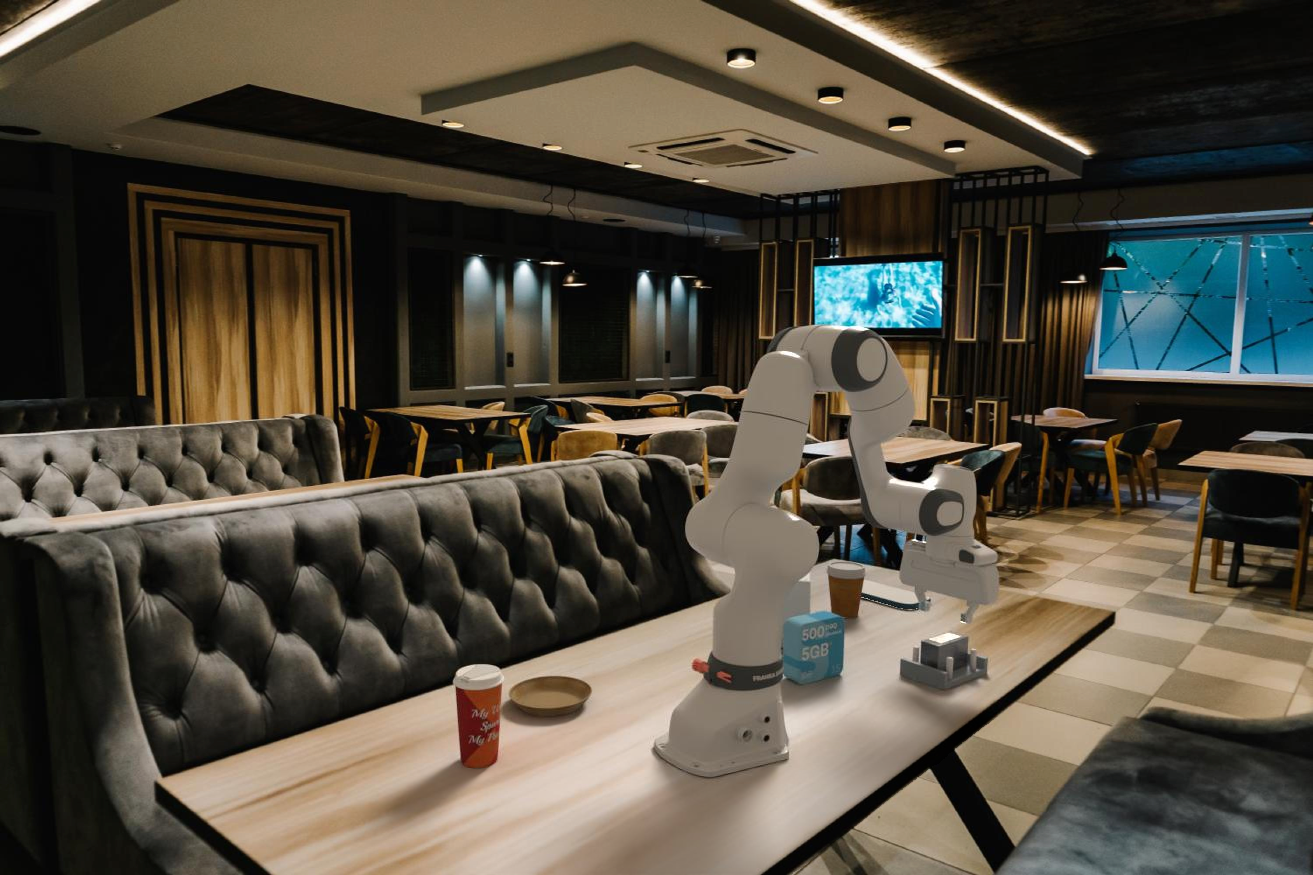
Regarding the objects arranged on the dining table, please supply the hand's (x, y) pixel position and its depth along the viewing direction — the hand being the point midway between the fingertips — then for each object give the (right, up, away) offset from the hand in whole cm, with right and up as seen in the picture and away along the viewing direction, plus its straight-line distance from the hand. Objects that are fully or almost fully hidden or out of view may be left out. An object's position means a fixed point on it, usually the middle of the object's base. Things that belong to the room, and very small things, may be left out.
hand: (944, 616), depth 173 cm
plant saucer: (-75, -13, -15) cm, 78 cm away
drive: (0, -11, +1) cm, 11 cm away
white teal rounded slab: (+2, -7, +56) cm, 56 cm away
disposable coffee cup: (-11, -8, +40) cm, 42 cm away
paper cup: (-84, -15, -37) cm, 93 cm away
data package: (-26, -12, -1) cm, 29 cm away
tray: (0, -12, +2) cm, 12 cm away
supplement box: (-28, -10, +19) cm, 35 cm away
